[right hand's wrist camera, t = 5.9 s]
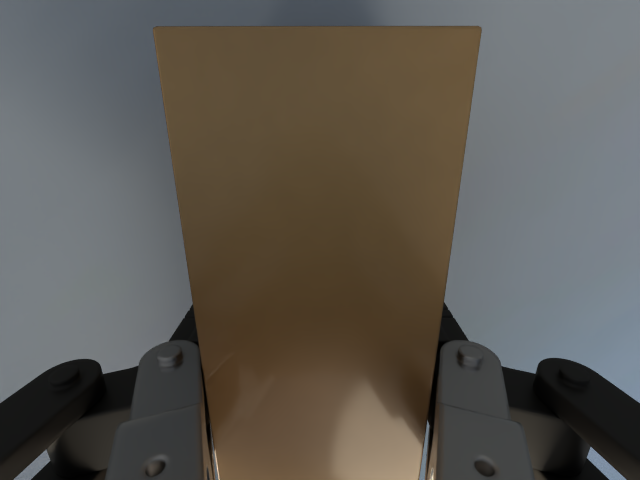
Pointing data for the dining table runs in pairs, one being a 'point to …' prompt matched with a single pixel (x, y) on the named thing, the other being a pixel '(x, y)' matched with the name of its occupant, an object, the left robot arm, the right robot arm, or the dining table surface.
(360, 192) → the bar
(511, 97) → the dining table surface
